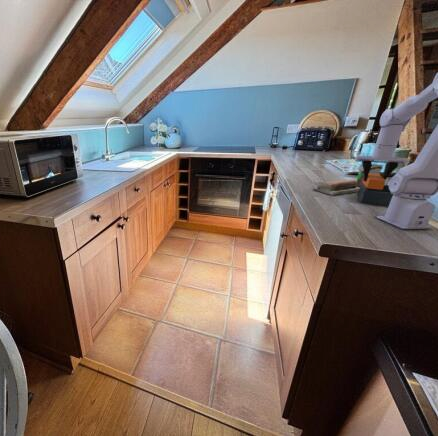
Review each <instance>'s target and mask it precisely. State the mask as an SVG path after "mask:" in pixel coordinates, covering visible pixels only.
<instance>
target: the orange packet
mask: <svg viewBox="0 0 438 436" xmlns="http://www.w3.org/2000/svg"><path fill="white" fill-rule="evenodd" d="M363 179H364V178H363ZM386 180H387V179H386ZM386 180H385V179H384V178H383V177H382V175H381V174H368V178H367V180H366V181H362V182H363V184H364V185H365V186H366V188H370V189H380V190H382V189H383V187H384V185H386Z"/></svg>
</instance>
